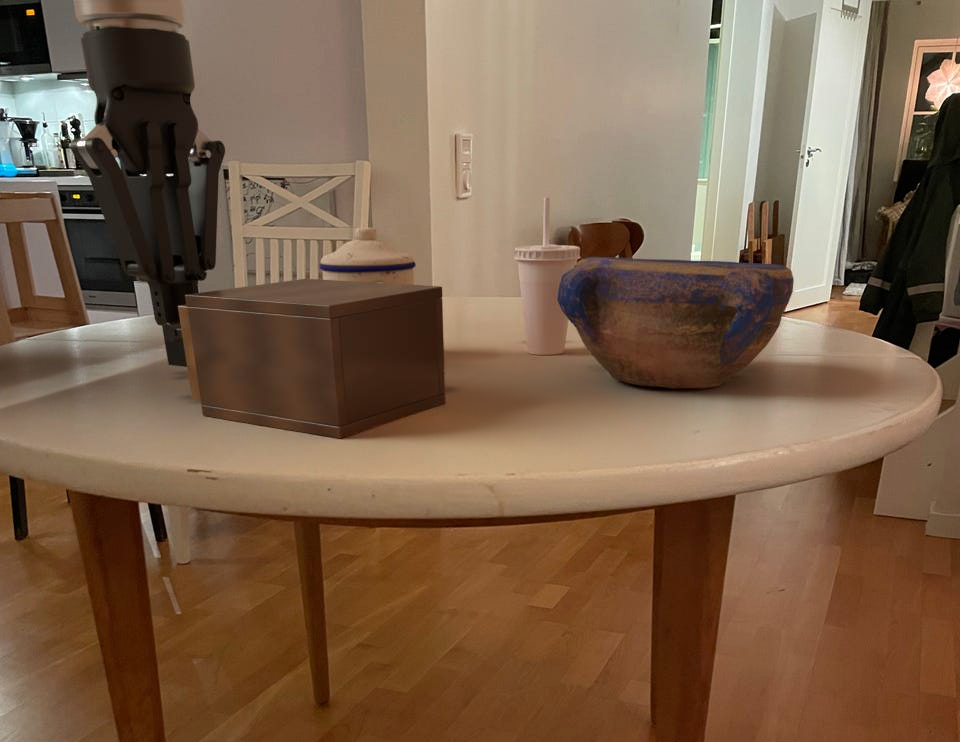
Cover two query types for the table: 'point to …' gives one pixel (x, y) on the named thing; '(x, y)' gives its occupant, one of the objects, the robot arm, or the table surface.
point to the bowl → (674, 316)
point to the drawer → (180, 332)
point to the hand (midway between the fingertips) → (186, 364)
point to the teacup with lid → (368, 261)
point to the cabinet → (318, 353)
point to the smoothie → (544, 291)
